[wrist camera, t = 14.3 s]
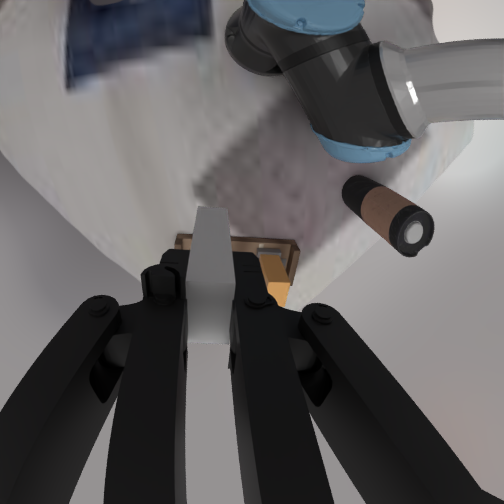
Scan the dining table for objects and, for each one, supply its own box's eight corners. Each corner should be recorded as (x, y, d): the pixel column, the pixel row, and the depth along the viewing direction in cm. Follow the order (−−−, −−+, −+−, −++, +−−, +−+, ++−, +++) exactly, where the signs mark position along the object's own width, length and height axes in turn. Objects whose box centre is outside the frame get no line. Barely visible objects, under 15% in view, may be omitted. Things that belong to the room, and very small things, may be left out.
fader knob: (253, 274, 54) (261, 308, 45) (257, 247, 52) (266, 279, 43) (274, 275, 55) (286, 308, 46) (279, 249, 52) (293, 280, 43)
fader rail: (177, 269, 54) (175, 281, 50) (177, 233, 51) (174, 244, 47) (287, 273, 58) (292, 285, 54) (294, 240, 54) (300, 250, 51)
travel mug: (344, 171, 49) (405, 207, 31) (376, 176, 50) (440, 213, 32) (337, 208, 52) (390, 258, 35) (368, 211, 53) (425, 258, 36)
